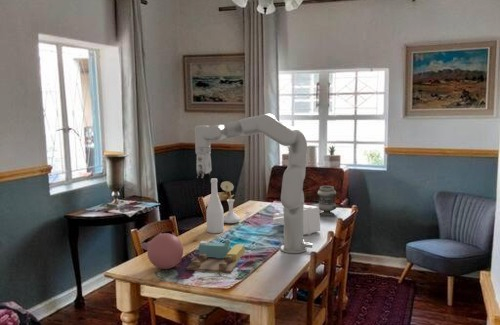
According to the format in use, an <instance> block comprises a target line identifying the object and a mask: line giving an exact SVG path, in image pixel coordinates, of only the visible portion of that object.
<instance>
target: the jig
mask: <svg viewBox="0 0 500 325" xmlns="http://www.w3.org/2000/svg"><path fill="white" fill-rule="evenodd" d="M224 258H225V259H224ZM224 258H223V259H216V258H208V257H207V254H200V255H198V258H197V257H195V256H193V257H192V258H191V259H190V264H188V265H187V266H186V271H198V272H210V273H224V274H225V273H226V274H231V272H233V271H234V270H235V268H236V267H237V265H238V264H239V260H238V261H232V256H225V257H224ZM233 269H234V270H233Z"/></svg>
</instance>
